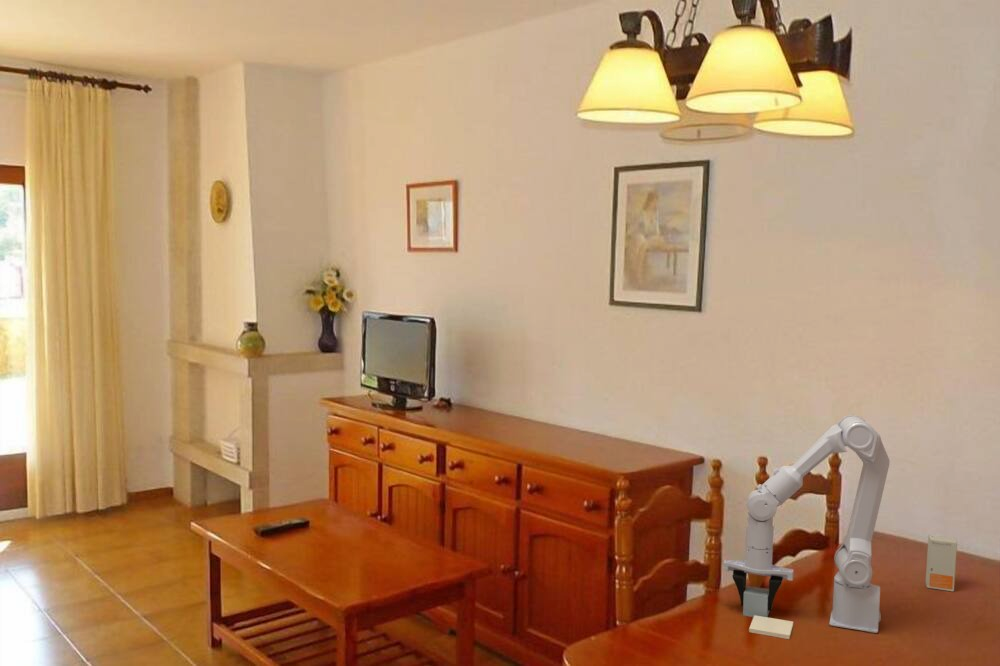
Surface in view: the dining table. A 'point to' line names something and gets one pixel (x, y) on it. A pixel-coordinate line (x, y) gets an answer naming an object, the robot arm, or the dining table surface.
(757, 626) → the coaster
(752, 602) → the cube
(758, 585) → the carrot
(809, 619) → the dining table surface
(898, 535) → the dining table surface
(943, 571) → the skincare box
